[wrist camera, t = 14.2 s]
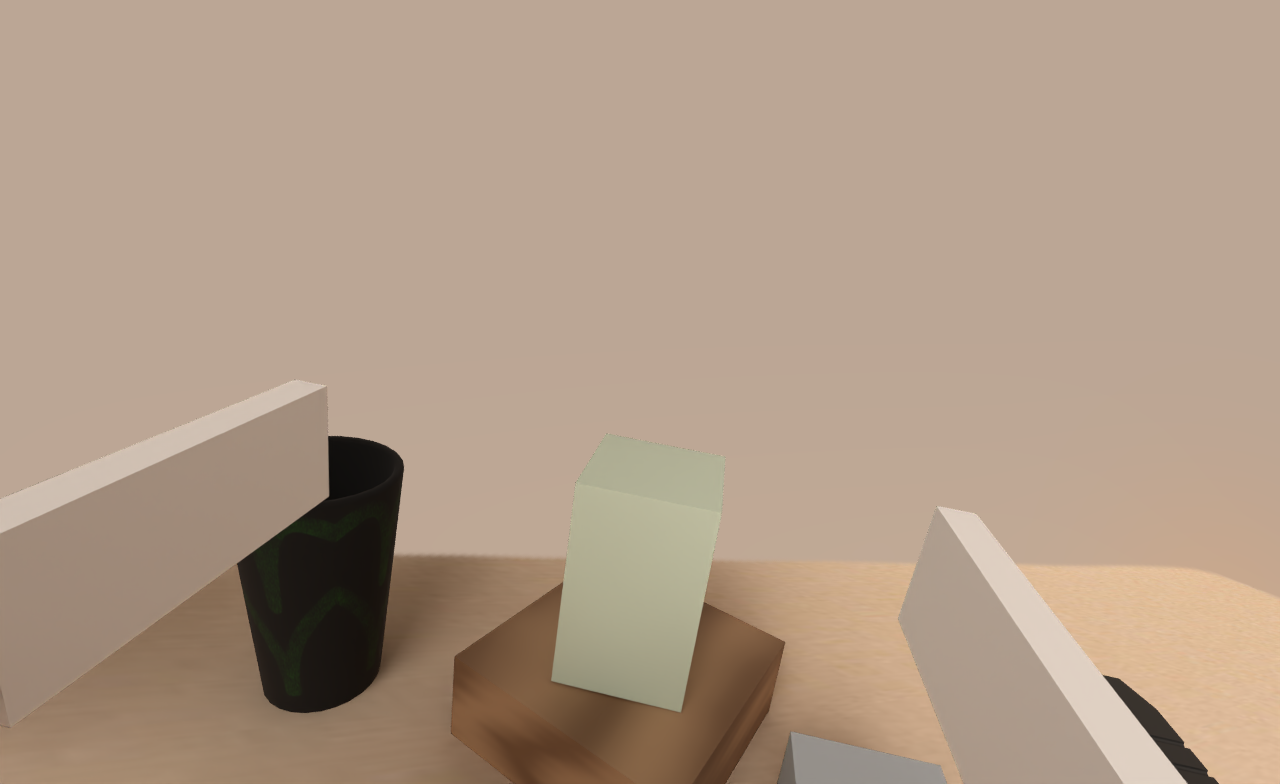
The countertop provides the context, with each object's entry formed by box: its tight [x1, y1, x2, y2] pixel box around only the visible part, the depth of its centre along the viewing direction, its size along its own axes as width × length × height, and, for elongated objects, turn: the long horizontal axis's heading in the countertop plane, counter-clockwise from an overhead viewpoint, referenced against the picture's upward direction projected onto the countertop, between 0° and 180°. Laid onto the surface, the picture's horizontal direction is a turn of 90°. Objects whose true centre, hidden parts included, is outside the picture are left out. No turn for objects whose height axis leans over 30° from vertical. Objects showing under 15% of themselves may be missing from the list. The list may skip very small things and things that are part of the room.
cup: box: [237, 436, 404, 713], centre depth 31 cm, size 8×8×12 cm
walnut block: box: [451, 583, 785, 784], centre depth 31 cm, size 12×12×5 cm
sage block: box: [551, 434, 725, 712], centre depth 29 cm, size 6×6×10 cm
